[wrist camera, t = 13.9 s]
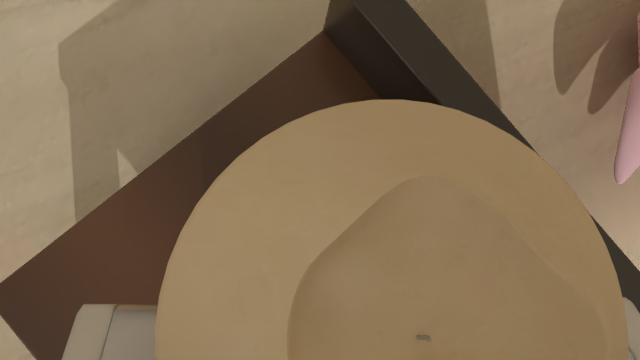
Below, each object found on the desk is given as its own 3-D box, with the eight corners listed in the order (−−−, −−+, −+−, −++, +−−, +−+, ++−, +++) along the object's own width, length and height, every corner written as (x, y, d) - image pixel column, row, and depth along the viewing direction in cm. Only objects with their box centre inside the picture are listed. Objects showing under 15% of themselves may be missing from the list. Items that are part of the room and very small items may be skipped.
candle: (215, 193, 15) (148, 32, 5) (421, 201, 16) (702, 70, 6) (203, 417, 14) (95, 719, 4) (423, 416, 15) (761, 680, 5)
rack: (286, 551, 20) (302, 798, 11) (69, 282, 21) (-90, 306, 11) (532, 318, 22) (722, 365, 13) (326, 77, 22) (367, -46, 13)
